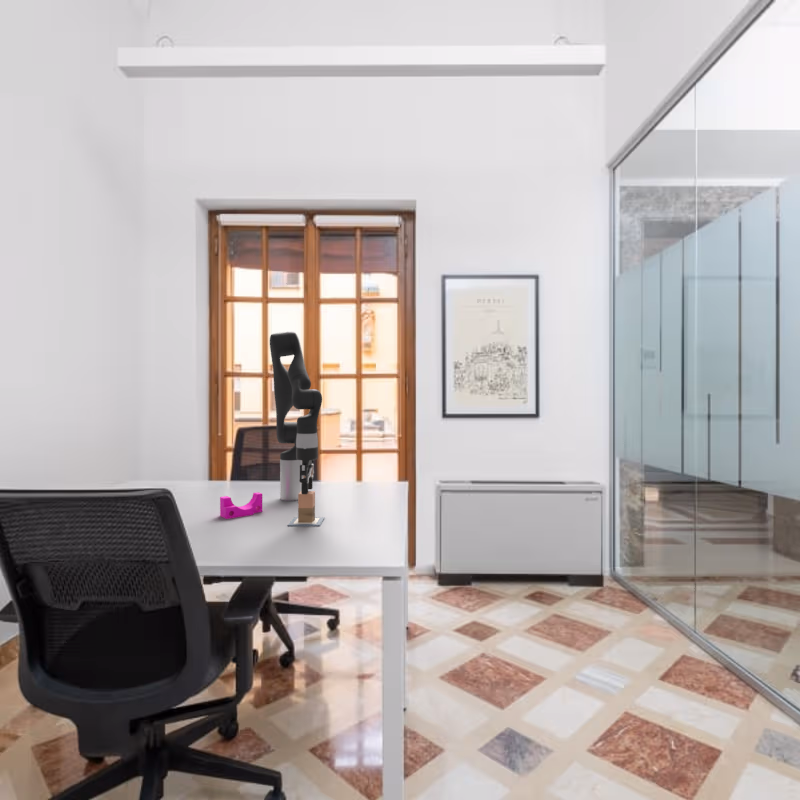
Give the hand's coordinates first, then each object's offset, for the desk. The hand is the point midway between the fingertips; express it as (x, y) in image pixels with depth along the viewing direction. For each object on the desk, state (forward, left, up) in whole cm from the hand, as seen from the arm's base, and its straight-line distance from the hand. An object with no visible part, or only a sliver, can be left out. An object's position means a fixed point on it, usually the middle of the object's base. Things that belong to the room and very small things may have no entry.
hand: (307, 491), depth 188 cm
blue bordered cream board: (0, 0, -11) cm, 11 cm away
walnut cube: (0, 0, -10) cm, 10 cm away
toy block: (-12, -26, -12) cm, 31 cm away
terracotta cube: (0, 0, -5) cm, 5 cm away
